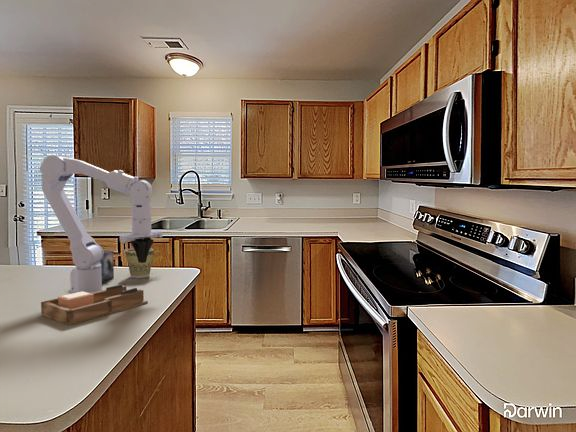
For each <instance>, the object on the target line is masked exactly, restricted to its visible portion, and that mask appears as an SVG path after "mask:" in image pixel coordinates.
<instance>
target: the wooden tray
mask: <svg viewBox="0 0 576 432" xmlns="http://www.w3.org/2000/svg"><path fill="white" fill-rule="evenodd" d="M91 294H93V295H94V304H90V305H86V306H82V307H78V308H74V309H68V308H65V307H62V306H59V305H58V297H57V298H53V299H48V300H44V301H40V311H41V316H42V317H45V318H48V319H51V320H53V321H57V322H59V323H62V324H64V323H65V324H64V325H67V326H71V325H75V324H76V325H77V324H79V323H82V322H83V323H84V322H86V321H89V320H93V319H96V318H100V317H103V316H108V315H112V314H115V313H118V312H121V311H125V310H129V309H132V308H136V307H140V306H143V305H147V304H149V301H148V300H145V299H144V295H145V294H144V290H143V289H138V288H137V287H134V288H130V289H127V285H124V284H122V283H120V284H118V285H111V286H108V287H106V289H102V290H101V291H97V292H92V293H91Z"/></svg>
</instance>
